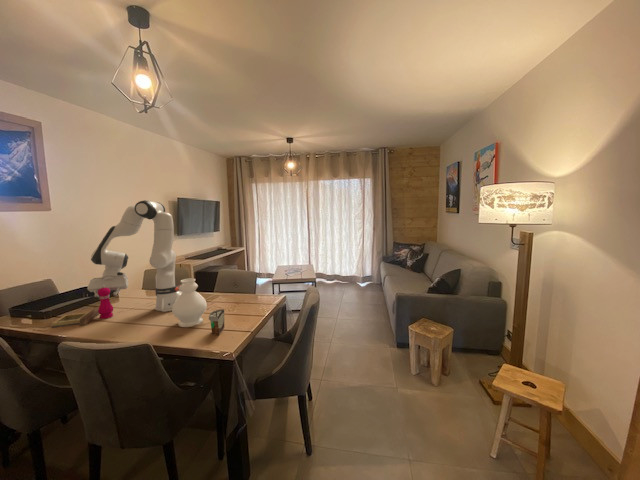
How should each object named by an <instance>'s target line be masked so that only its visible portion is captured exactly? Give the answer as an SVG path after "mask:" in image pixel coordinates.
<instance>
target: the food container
mask: <svg viewBox="0 0 640 480" xmlns="http://www.w3.org/2000/svg"><path fill="white" fill-rule="evenodd" d="M208 320H209V323H210V326H211V333H212V335H214V336H220V335H221V333H222V332H223V331H224V329H225V309H224V308H222V309H216V310H213V311H212V312H210V313H209V314H208Z"/></svg>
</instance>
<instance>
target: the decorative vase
mask: <svg viewBox="0 0 640 480" xmlns="http://www.w3.org/2000/svg"><path fill="white" fill-rule="evenodd" d="M195 281H196V278H193V277H192V278H184V279H181V280H180V283H181V284H180V285H179V291H181V292H183V293H182V294H181V295H180V296H179V297H178V298H177V299H176V301H175V302H174V304H173V306H172V311H171V312H172V315H174V317H175V318H176V319H178V320H179V322H178V326H179V327H181V328H189V327H190V328H191V327H193V326H194V327H195V326H197V325H200V324H202V323H203V317H202V316H203V315H204V313H205V311H206V310H207V307H208V303H207V301H206V298H205V297H203V296H202V295H201V294H200V293H199V292H198V291H196V290H197V289H198V288H199V285H198V284H197V283H196V282H195Z"/></svg>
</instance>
